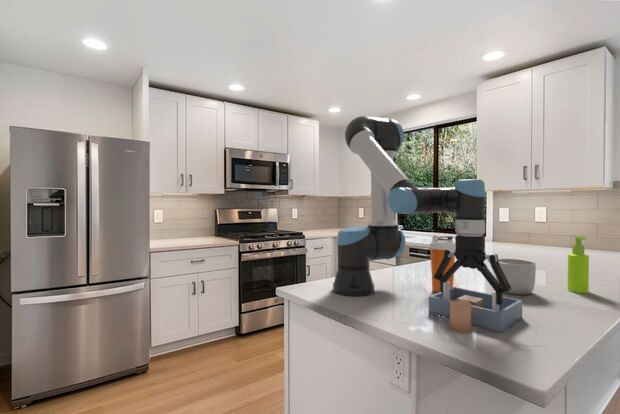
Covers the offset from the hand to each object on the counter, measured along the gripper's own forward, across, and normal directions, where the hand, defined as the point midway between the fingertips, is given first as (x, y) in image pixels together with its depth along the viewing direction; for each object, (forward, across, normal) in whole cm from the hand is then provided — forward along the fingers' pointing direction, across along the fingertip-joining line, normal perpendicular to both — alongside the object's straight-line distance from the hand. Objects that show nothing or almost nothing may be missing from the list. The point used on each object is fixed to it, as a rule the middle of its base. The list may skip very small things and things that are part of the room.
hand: (469, 309), depth 94 cm
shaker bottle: (+2, -19, +21) cm, 28 cm away
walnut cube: (+2, 0, 0) cm, 2 cm away
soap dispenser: (+2, +14, +56) cm, 58 cm away
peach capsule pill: (+2, +2, -10) cm, 10 cm away
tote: (+2, 0, +3) cm, 4 cm away
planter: (+3, -1, +39) cm, 39 cm away
